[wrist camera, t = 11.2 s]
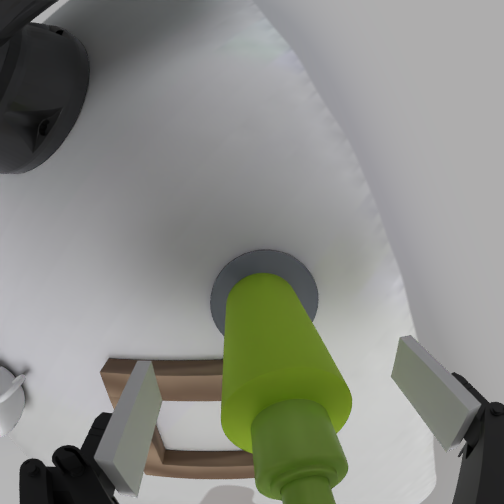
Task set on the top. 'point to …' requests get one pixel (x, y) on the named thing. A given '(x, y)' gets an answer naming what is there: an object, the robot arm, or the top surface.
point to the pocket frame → (182, 389)
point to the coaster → (263, 263)
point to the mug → (10, 400)
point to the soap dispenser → (282, 393)
